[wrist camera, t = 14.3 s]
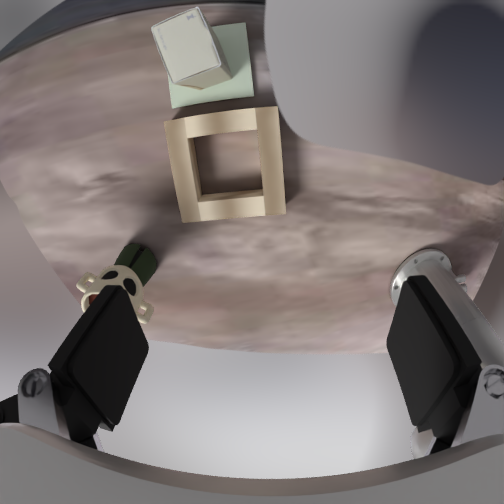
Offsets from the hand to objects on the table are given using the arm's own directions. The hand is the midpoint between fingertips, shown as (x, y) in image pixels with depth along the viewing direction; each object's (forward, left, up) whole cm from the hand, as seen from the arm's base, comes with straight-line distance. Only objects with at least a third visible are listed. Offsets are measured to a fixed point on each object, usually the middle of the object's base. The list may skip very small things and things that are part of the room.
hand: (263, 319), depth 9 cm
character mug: (+20, +13, -29) cm, 37 cm away
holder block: (+4, 0, -28) cm, 29 cm away
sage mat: (+5, -13, -28) cm, 31 cm away
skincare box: (+5, -13, -28) cm, 31 cm away
